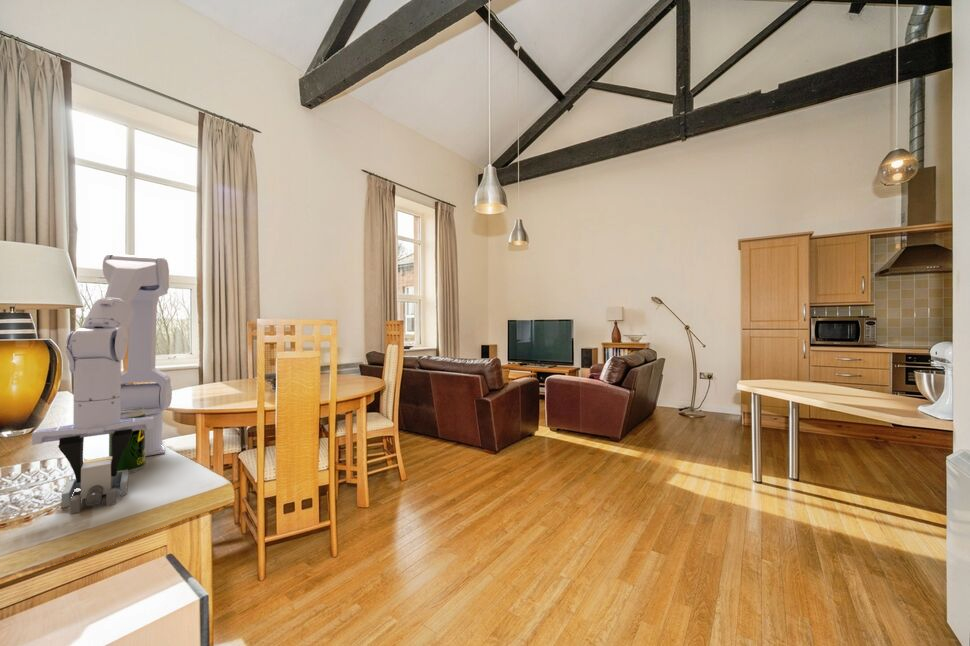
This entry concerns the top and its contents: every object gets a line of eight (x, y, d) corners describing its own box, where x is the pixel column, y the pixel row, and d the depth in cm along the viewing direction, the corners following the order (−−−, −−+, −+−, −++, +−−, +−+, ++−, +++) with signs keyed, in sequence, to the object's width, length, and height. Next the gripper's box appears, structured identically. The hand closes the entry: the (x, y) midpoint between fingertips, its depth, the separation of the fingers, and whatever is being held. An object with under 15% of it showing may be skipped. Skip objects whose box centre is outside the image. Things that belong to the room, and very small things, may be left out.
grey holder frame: (68, 492, 67) (68, 479, 67) (128, 481, 72) (128, 469, 72) (57, 516, 59) (57, 502, 59) (125, 501, 64) (125, 488, 64)
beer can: (105, 477, 74) (105, 414, 74) (112, 468, 78) (112, 408, 78) (142, 471, 77) (143, 411, 77) (147, 463, 81) (147, 406, 81)
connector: (84, 489, 67) (84, 460, 67) (112, 483, 70) (112, 455, 70) (76, 510, 60) (76, 477, 60) (108, 503, 62) (108, 471, 62)
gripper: (27, 408, 59) (27, 498, 59) (153, 396, 68) (153, 474, 68) (37, 400, 64) (37, 483, 64) (153, 391, 74) (152, 462, 74)
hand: (97, 477), depth 67 cm, fingers closed on connector, 3 cm apart
